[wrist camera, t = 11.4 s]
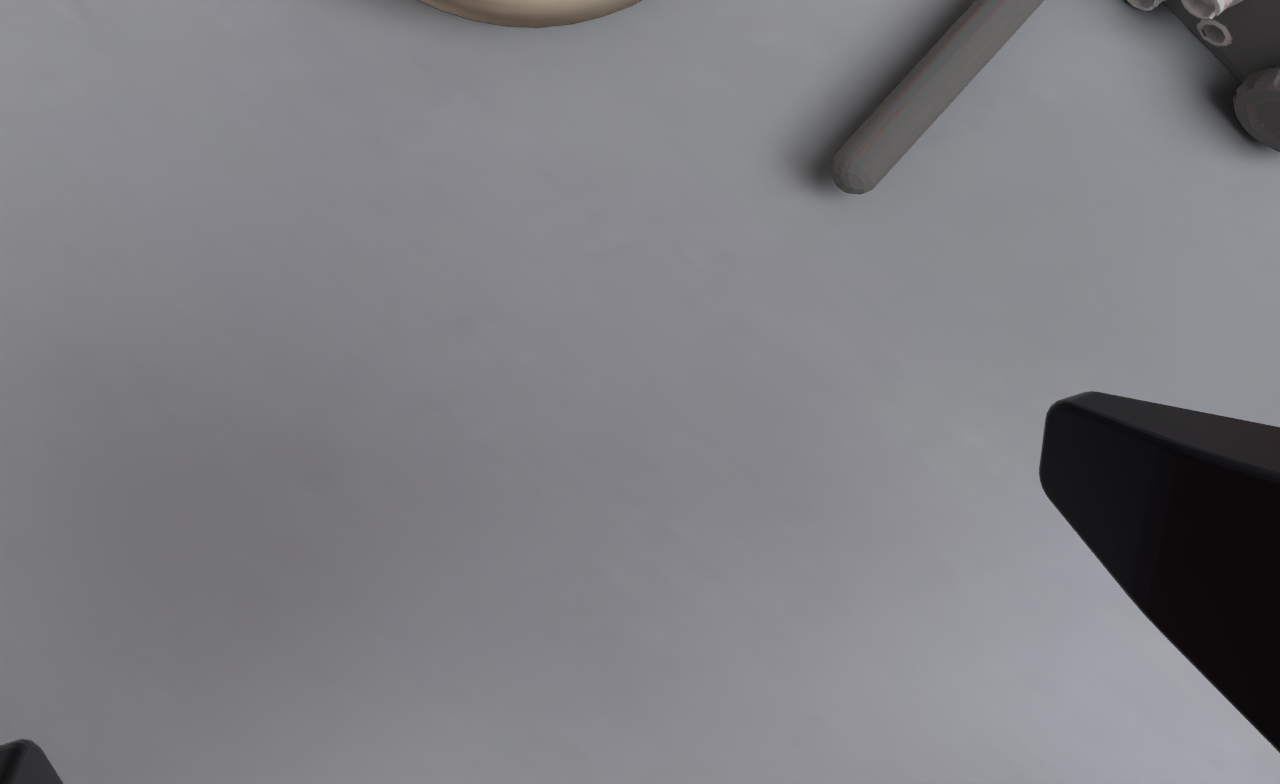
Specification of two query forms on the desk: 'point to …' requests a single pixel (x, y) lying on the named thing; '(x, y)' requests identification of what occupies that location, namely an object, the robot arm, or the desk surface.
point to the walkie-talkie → (1206, 3)
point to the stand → (530, 10)
